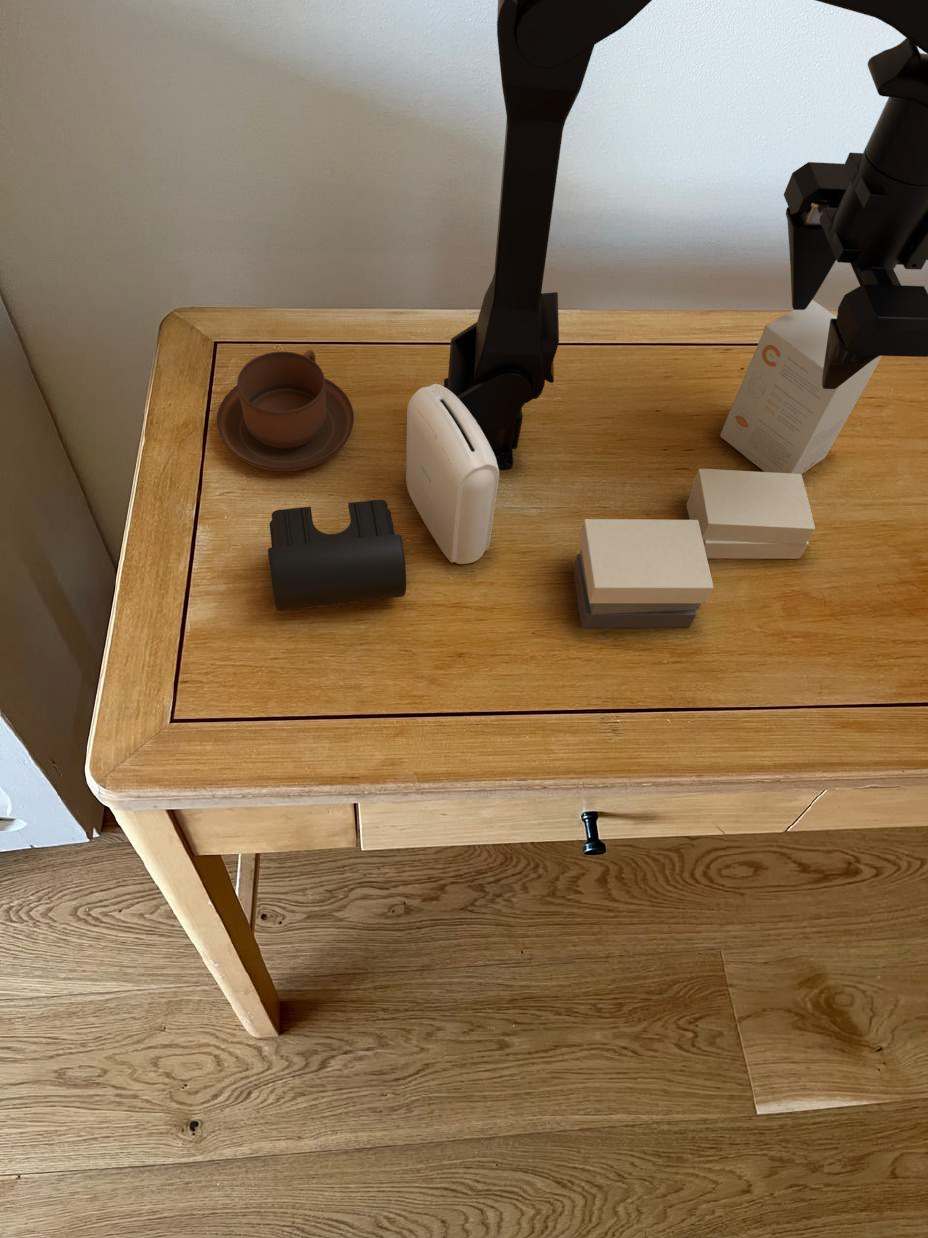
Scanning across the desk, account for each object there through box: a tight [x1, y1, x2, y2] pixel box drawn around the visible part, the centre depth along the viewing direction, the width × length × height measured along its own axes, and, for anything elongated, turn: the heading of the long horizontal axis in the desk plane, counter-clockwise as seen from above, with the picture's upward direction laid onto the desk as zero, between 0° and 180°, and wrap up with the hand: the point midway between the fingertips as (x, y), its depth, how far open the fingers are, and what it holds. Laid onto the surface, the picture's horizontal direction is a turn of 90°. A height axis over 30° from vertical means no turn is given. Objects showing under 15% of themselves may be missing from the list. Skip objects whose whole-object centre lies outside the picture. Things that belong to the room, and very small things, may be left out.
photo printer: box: [405, 383, 500, 565], centre depth 75 cm, size 10×4×12 cm, turn 26°
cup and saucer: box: [216, 349, 355, 472], centre depth 81 cm, size 12×12×6 cm
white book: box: [579, 518, 714, 604], centre depth 72 cm, size 9×7×2 cm
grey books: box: [572, 548, 703, 629], centre depth 75 cm, size 9×6×4 cm
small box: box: [719, 299, 883, 475], centre depth 82 cm, size 8×6×13 cm
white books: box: [686, 468, 816, 560], centre depth 80 cm, size 9×6×4 cm
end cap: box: [267, 499, 407, 612], centre depth 72 cm, size 10×7×7 cm
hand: (813, 346), depth 74 cm, fingers open, 9 cm apart
